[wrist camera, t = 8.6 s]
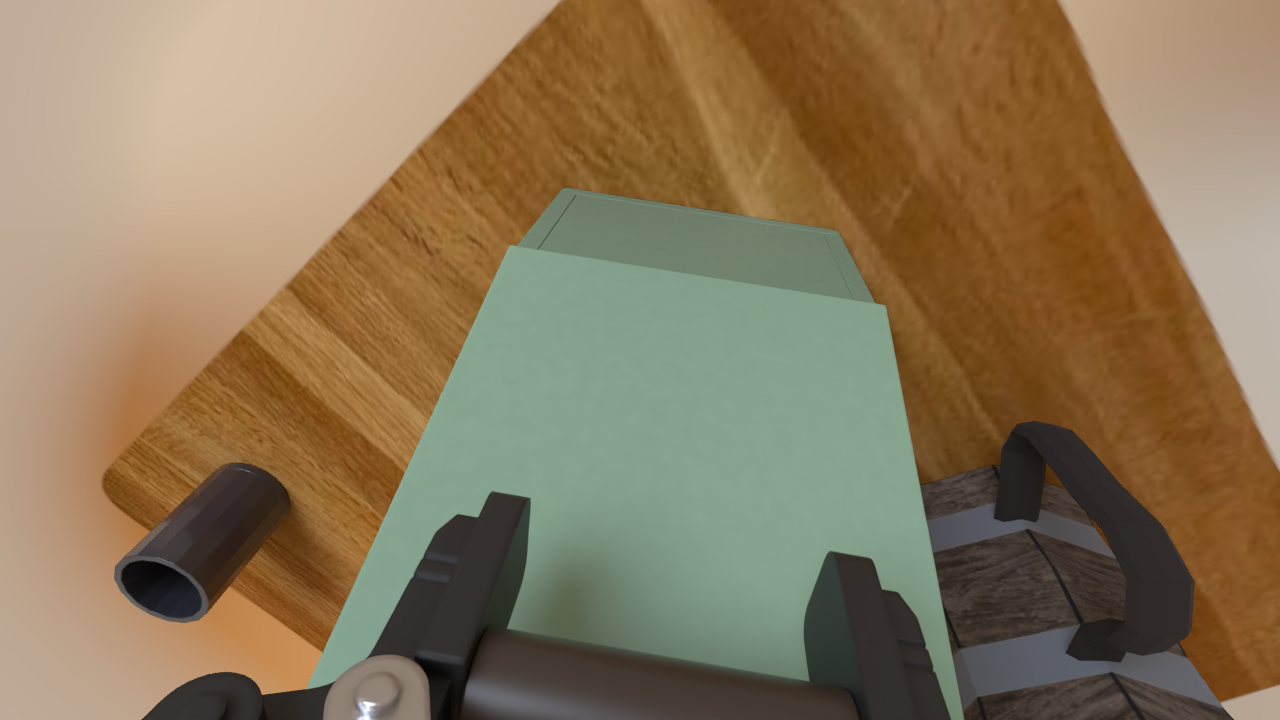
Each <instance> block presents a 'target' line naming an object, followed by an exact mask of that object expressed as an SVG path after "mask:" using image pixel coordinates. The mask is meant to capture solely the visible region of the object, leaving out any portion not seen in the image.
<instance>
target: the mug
mask: <svg viewBox="0 0 1280 720" xmlns="http://www.w3.org/2000/svg"><path fill="white" fill-rule="evenodd" d="M1046 463H1048V465H1049V466H1050V467H1051V469H1052V470H1053V471H1054V473H1055V474H1056V476H1057V477H1058V478H1059V480H1060V481H1061V482H1062V484H1063V485H1064V487H1065V488H1066V489H1067V490H1065V489H1062V488H1059V487H1056V486H1054V485H1051V484H1048V483H1045V473H1046ZM920 489H921V494H922V499H923V504H924V510H925V515H926V520H927V526H928V531H929V536H930V541H931V547H932V552H933V557H934V563H935V568H936V573H937V578H938V584H939V589H940V594H941V600H942V605H943V610H944V615H945V621H946V626H947V631H948V637H949V642H950V647H951V652H952V658H953V663H954V668H955V674H956V679H957V684H958V689H959V695H960V700H961V705H962V711H963V716H964V720H1234V719H1233V718H1232V717H1231V716H1230V715H1229V714H1228V713H1227V712H1226V711H1225V710H1224V708H1223V707H1222V705H1221V704H1220V702H1219V701H1218V700H1217V698H1216V697H1215V695H1214V694H1213V693H1212V691H1211V690H1210V688H1209V687H1208V686H1207V684H1206V683H1205V681H1204V680H1203V679H1202V677H1201V676H1200V674H1199V673H1198V672H1197V670H1196V669H1195V667H1194V666H1193V665H1192V663H1191V662H1190V660H1189V659H1188V657H1187V656H1186V654H1185V652H1184V650H1183V649H1182V647H1181V645H1180V643H1179V642H1180V641H1181V640H1183V639H1184V638H1186V637H1187V636H1188V635H1189V632H1190V630H1191V628H1192V613H1193V595H1194V580H1193V578H1192V576H1191V575H1190V573H1189V571H1188V569H1187V567H1186V566H1185V564H1184V562H1183V560H1182V558H1181V557H1180V555H1179V553H1178V551H1177V549H1176V548H1175V546H1174V544H1173V542H1172V541H1171V539H1170V537H1169V535H1168V533H1167V532H1166V530H1165V528H1164V527H1163V526H1162V524H1161V523H1160V522H1159V521H1158V520H1157V519H1156V518H1155V517H1154V516H1153V515H1152V514H1150V513H1149V512H1148V511H1147V510H1146V509H1145V508H1144V507H1143V506H1142V505H1141V504H1140V503H1139V502H1138V501H1137V500H1136V499H1135V498H1134V497H1133V496H1132V495H1131V494H1130V493H1129V492H1128V491H1127V490H1126V489H1125V488H1124V487H1123V486H1122V485H1121V484H1120V483H1119V482H1118V481H1117V480H1116V479H1115V477H1114V476H1113V475H1112V474H1111V473H1110V471H1109V470H1108V469H1107V468H1106V467H1105V466H1104V464H1103V463H1102V462H1101V461H1100V460H1099V459H1098V457H1097V456H1096V455H1095V454H1094V453H1093V452H1092V451H1091V450H1090V449H1089V447H1088V446H1087V445H1086V444H1085V443H1084V442H1083V441H1082V440H1081V439H1080V438H1079V437H1078V436H1077V435H1076V434H1075V433H1074V432H1073V431H1072V430H1069V429H1066V428H1062V427H1059V426H1055V425H1052V424H1047V423H1041V422H1036V421H1032V422H1027V423H1021V424H1017V425H1016V427H1015V428H1014V429H1013V431H1012V432H1011V434H1010V435H1009V437H1008V438H1007V440H1006V442H1005V443H1004V445H1003V447H1002V452H1001V464H1000V467H999V466H996V465H990V466H987V467H983V468H980V469H976V470H973V471H969V472H966V473H962V474H959V475H955V476H952V477H948V478H945V479H941V480H938V481H934V482H930V483H927V484H923V485H920ZM1089 516H1090V517H1091V518H1092V519H1093V520H1094V521H1095V522H1096V523H1097V524H1098V525H1099V526H1100V527H1101V529H1102V530H1103V532H1104V534H1105V536H1106V538H1107V540H1108V542H1109V545H1110V547H1111V549H1112V551H1113V553H1114V554H1113V553H1112V551H1111V550H1110V548H1109V547H1108V546H1107V544H1106V543H1105V541H1104V540H1103V539H1102V537H1101V536H1100V534H1099V533H1098V532H1097V530H1096V529H1095V527H1094V525H1093V523H1092V521H1091V519H1090V517H1089ZM1114 555H1115V556H1114Z"/></svg>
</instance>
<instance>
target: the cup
mask: <svg viewBox="0 0 1280 720" xmlns="http://www.w3.org/2000/svg"><path fill="white" fill-rule="evenodd" d="M289 507H290V503H289V498H288V495H287V493H286V491H285V489H284V488H283V486H282V485H281V484H280V483H279V482H278V481H277V480H276V479H275V478H274V477H273V476H271V475H270V474H269V473H267V472H265V471H264V470H262V469H260V468H257V467H255V466H252V465H248V464H244V463H230V464H226V465H223V466H221V467H219V468H218V469H217V470H216V471H215V472H213V473H212V474H211V475H210V476H209V477H208V478H207V479H206V480H205V481H204V482H203V483H202V484H201V485H199V486H198V487H197V488H196V489H195V490H194V491H193V492H192V493H191V494H190V495H189V496H188V497H187V498H186V499H185V500H184V501H183V502H182V503H180V504H179V505H178V506H177V507H176V508H175V509H174V510H173V511H172V512H171V513H170V514H169V515H168V516H167V517H166V518H165V519H164V520H163V521H161V522H160V523H159V524H158V525H157V526H156V527H155V528H154V529H153V530H152V531H151V532H150V533H149V534H148V535H147V536H146V537H145V538H144V539H143V540H141V542H140V543H138V544H137V545H136V546H135V547H134V548H133V549H132V550H131V551H130V552H129V553H128V554H127V555H126V556H125V557H124V558H123V559H122V560H121V561H120V562H119V563H118V564H117V565H116V566H115V573H114V578H115V581H116V583H117V585H118V587H119V589H120V591H121V592H122V593H123V594H124V595H125V596H126V597H127V598H128V599H129V600H130V602H131V603H132V604H134V605H135V606H137V607H139V608H140V609H142V610H143V611H145V612H146V613H148V614H150V615H152V616H155V617H158V618H161V619H163V620H166V621H172V622H180V623H187V622H192V621H197V620H199V619H201V618H202V617H203V616H204V615H205V614H206V613H207V612H208V611H209V610H210V609H211V608H212V606H213V605H214V604H215V603H216V602H217V600H218V599H219V598H220V597H221V596H222V594H223V593H224V592H225V591H226V589H227V588H228V587H229V586H230V585H231V583H232V582H233V581H234V580H235V579H236V577H237V576H238V575H239V574H240V572H241V571H242V570H243V569H244V568H245V566H246V565H247V564H248V563H249V562H250V560H251V559H252V558H253V557H254V556H255V554H256V553H257V552H258V551H259V549H260V548H261V547H262V546H263V545H264V543H265V542H266V541H267V540H268V539H269V537H270V536H271V535H272V534H273V532H274V531H275V530H276V529H277V528H278V526H279V525H280V524H281V523H282V521H283V519H284V518H285V517H286V516H287V514H288V512H289Z"/></svg>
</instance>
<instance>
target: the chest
mask: <svg viewBox="0 0 1280 720" xmlns="http://www.w3.org/2000/svg"><path fill="white" fill-rule="evenodd" d="M517 246H519V247H525V248H532V249H538V250H544V251H550V252H557V253H563V254H569V255H575V256H582V257H588V258H594V259H600V260H607V261H613V262H619V263H625V264H632V265H638V266H644V267H650V268H657V269H663V270H669V271H675V272H682V273H688V274H694V275H700V276H707V277H713V278H719V279H725V280H732V281H738V282H744V283H750V284H756V285H763V286H769V287H775V288H781V289H788V290H794V291H800V292H806V293H813V294H819V295H825V296H831V297H838V298H844V299H850V300H856V301H863V302H869V303H875V301H874V299H873V297H872V295H871V293H870V291H869V289H868V288H867V286H866V284H865V282H864V280H863V278H862V276H861V274H860V272H859V270H858V268H857V266H856V264H855V262H854V260H853V259H852V257H851V255H850V253H849V251H848V249H847V247H846V245H845V243H844V241H843V239H842V237H841V236H840V234H839V232H838V231H837V230H831V229H825V228H818V227H812V226H806V225H799V224H793V223H787V222H780V221H774V220H768V219H761V218H755V217H749V216H742V215H736V214H730V213H723V212H717V211H711V210H704V209H698V208H691V207H685V206H679V205H672V204H666V203H660V202H653V201H647V200H641V199H634V198H628V197H622V196H615V195H609V194H603V193H596V192H590V191H584V190H577V189H571V188H563V189H562V190H561V192H559V194H558V195H557V196H556V197H555V199H554V200H553V201H552V202H551V204H550V205H549V206H548V207H547V209H546V210H545V211H544V212H543V214H542V215H541V216H540V217H539V219H538V220H537V221H536V222H535V224H534V225H533V226H532V227H531V229H530V230H529V231H528V233H527V234H526V235H525V236H524V238H523V239H522V240H521V241H520V243H519V244H518V245H517ZM875 304H876V303H875Z"/></svg>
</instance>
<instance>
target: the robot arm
mask: <svg viewBox="0 0 1280 720" xmlns="http://www.w3.org/2000/svg"><path fill="white" fill-rule="evenodd" d="M530 509H531V499H530V498H529V497H523V496H518V495H512V494H506V493H500V492H495V491H491V492H490V494H489V495H488V497H487V499H486V501H485V504H484V506H483V508H482V510H481V512H480V514H479V516H478V517H472V516H467V515H461V514H457V515H455V516H454V517H453V518H452V519H451V520H449V521H448V522H447V523H446V524H445V525H443V526H442V527H441V528H440V529H438V530H437V531H436V532H435V534H434V536H433V538H432V540H431V542H430V544H429V545H428V547H427V549H426V551H425V553H424V557H423V559H421V560H420V562H419V564H418V566H417V568H416V570H415V572H414V575H413V578H411V579H410V581H409V583H408V585H407V587H406V588H405V590H404V592H403V594H402V596H401V598H400V600H399V602H398V603H397V605H396V607H395V609H394V611H393V613H392V615H391V617H390V618H389V620H388V622H387V624H386V626H385V628H384V630H383V631H382V633H381V635H380V637H379V639H378V641H377V643H376V645H375V646H374V648H373V650H372V651H371V653H370V654H369V656H368V657H367V658H366V659H365V660H362V661H360V662H359V663H357V664H355V665H353V666H352V667H350V668H349V669H347V670H346V671H345V672H344V673H343V674H342V675H341V676H340V677H339V678H338V679H337V680H336V681H334V682H332V683H330V684H327V685H324V686H320V687H316V688H311V689H304V690H297V691H289V692H281V693H274V694H266V695H262V694H261V691H260V689H259V687H258V685H257V684H256V683H255V682H254V681H253V680H252V679H251V678H249V677H247V676H245V675H241V674H238V673H231V672H220V673H213V674H208V675H205V676H202V677H199V678H196V679H194V680H192V681H189V682H187V683H185V684H184V685H182V686H180V687H178V688H177V689H175V690H174V691H172V692H171V693H170V694H169V695H167V696H166V697H165V698H164V699H163V700H161V701H160V702H159V703H158V704H157V705H156V706H155V707H154V708H153V709H152V710H151V711H150V712H149V713H148V714H147V715H146V716H145V717H144V718H143V719H142V720H457V717H458V711H459V706H460V702H461V697H462V693H463V689H464V686H465V682H466V678H467V675H468V672H469V668H470V665H471V662H472V659H473V656H474V653H475V651H476V648H477V646H478V643H479V641H480V639H481V637H482V635H483V633H484V632H485V630H486V629H487V628H488V627H490V626H496V627H502V628H507V627H508V624H509V621H510V618H511V615H512V612H513V609H514V606H515V603H516V600H517V597H518V594H519V591H520V588H521V585H522V581H523V577H524V572H525V567H526V561H527V551H528V537H529V523H530ZM804 646H805V653H806V660H807V667H808V675H809V681H810V682H816V683H822V684H827V685H833V686H839V687H843V688H845V689H846V690H848V691H849V692H850V694H851V695H852V697H853V699H854V701H855V704H856V707H857V710H858V714H859V718H860V720H951V718H950V715H949V712H948V709H947V706H946V703H945V700H944V697H943V694H942V691H941V688H940V684H939V681H938V678H937V675H936V672H933V667H934V666H933V663H932V660H931V657H930V654H929V651H928V650H927V649H926V642H925V639H924V636H923V633H922V630H921V627H920V624H919V621H918V618H917V616H916V615H915V614H914V612H913V611H912V610H911V609H910V607H909V606H908V605H907V603H906V602H905V601H904V599H903V598H902V597H901V595H900V594H899V593H898V592H894V591H889V590H883V589H882V588H881V584H880V581H879V577H878V574H877V570H876V567H875V564H874V562H873V560H872V559H871V558H868V557H862V556H857V555H851V554H845V553H840V552H834V551H830V552H828V553H827V555H826V557H825V559H824V562H823V564H822V567H821V570H820V573H819V575H818V578H817V581H816V583H815V586H814V589H813V591H812V594H811V597H810V600H809V602H808V605H807V608H806V612H805V618H804Z"/></svg>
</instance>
